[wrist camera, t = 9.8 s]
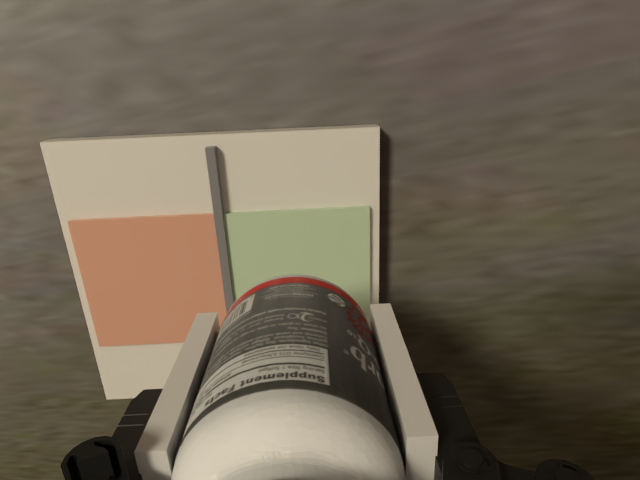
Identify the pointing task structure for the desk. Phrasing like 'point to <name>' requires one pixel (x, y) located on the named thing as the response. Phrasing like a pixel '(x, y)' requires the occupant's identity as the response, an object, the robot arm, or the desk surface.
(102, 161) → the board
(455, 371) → the desk surface
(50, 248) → the desk surface
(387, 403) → the pill bottle
